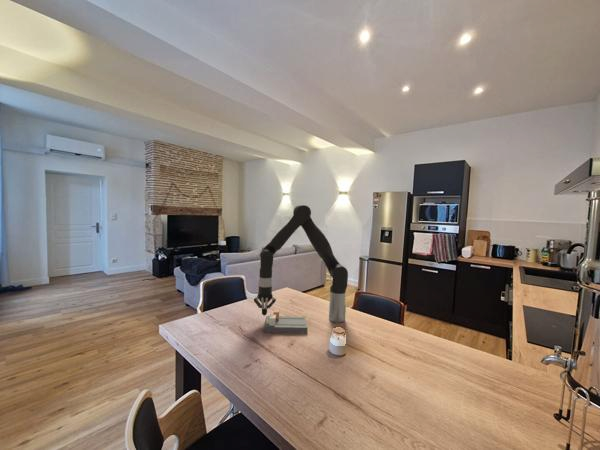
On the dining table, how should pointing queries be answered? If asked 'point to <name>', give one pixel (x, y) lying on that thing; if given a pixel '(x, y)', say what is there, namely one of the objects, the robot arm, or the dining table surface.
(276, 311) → the terracotta fader
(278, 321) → the fader console
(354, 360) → the dining table surface
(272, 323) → the cream fader
